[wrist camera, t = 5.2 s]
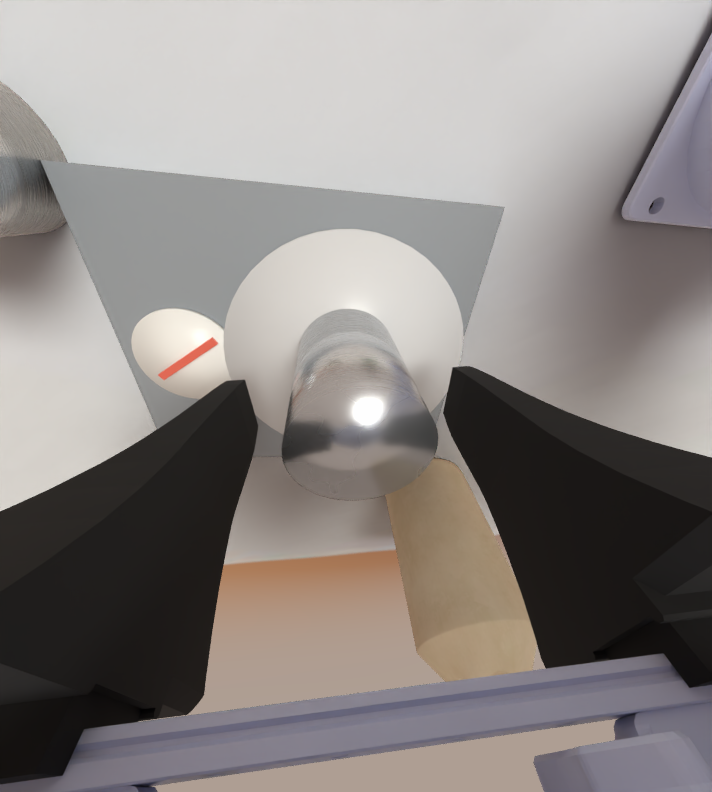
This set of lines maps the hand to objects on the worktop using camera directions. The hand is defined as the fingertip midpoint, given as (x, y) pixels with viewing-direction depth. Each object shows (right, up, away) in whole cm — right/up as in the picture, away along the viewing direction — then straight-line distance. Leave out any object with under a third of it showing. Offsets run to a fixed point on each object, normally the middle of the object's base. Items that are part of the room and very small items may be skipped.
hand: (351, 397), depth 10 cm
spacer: (0, +2, +2) cm, 2 cm away
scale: (-2, +2, +3) cm, 4 cm away
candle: (+5, -6, +10) cm, 12 cm away
